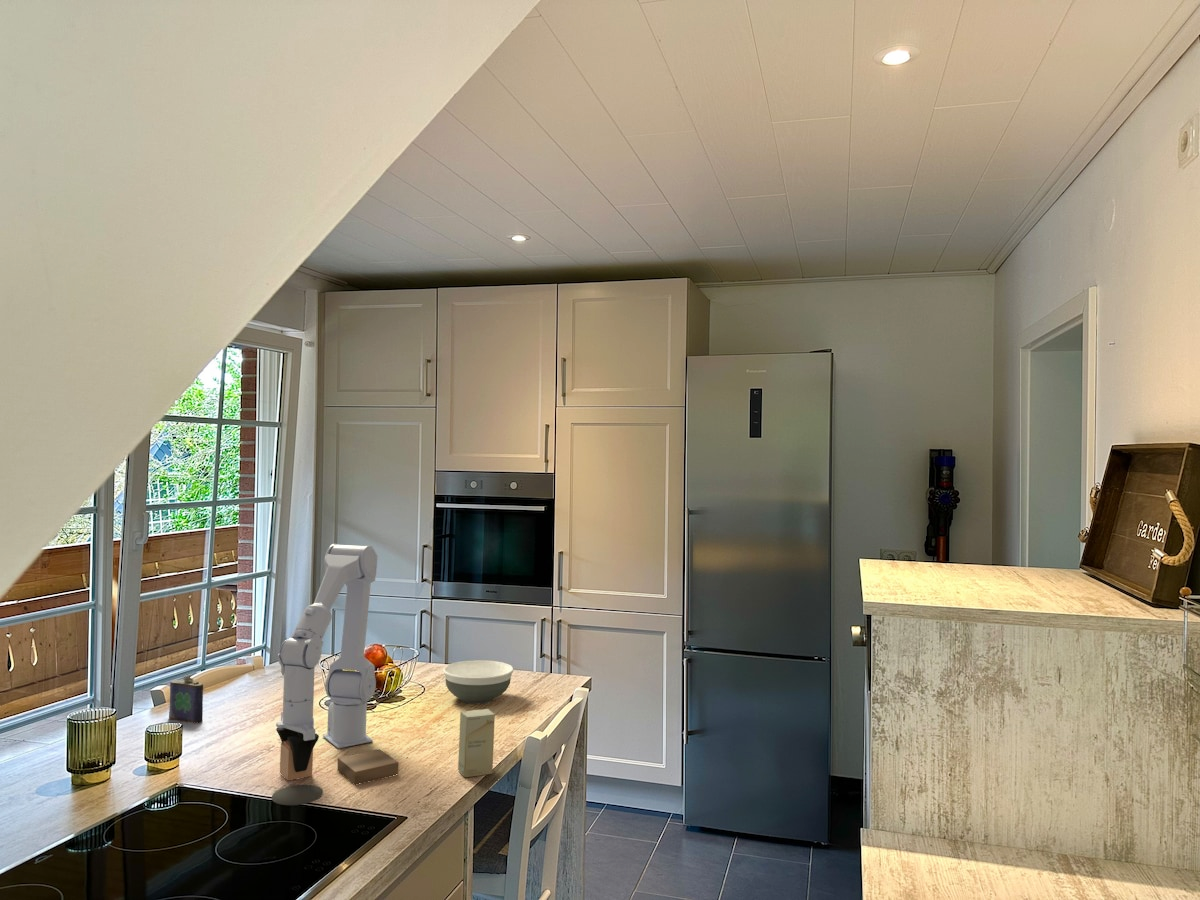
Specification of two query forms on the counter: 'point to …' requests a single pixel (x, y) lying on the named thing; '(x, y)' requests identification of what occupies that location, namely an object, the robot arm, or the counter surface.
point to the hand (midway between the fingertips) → (296, 766)
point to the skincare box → (476, 742)
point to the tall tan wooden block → (288, 764)
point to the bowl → (477, 680)
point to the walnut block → (367, 766)
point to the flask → (186, 700)
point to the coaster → (297, 794)
